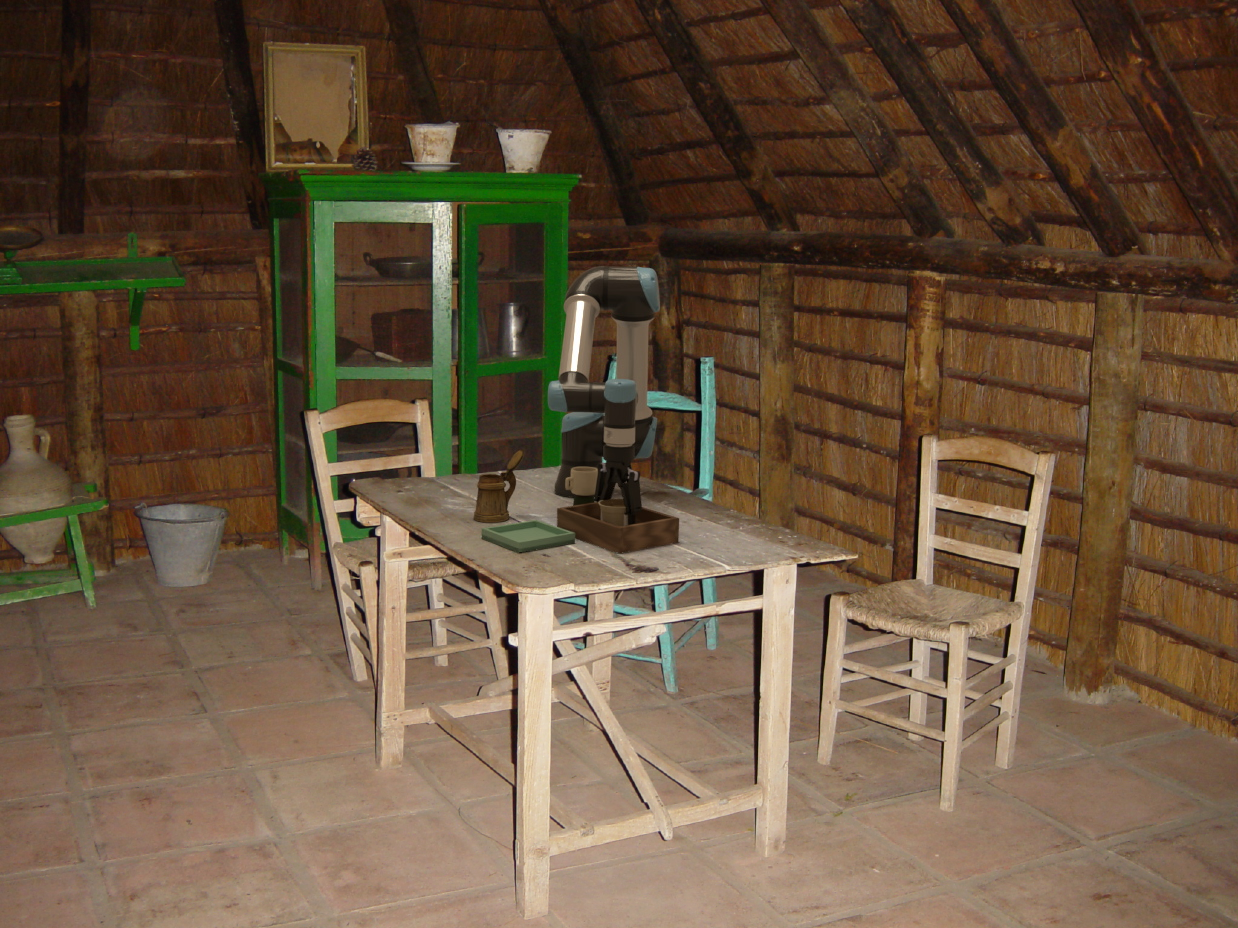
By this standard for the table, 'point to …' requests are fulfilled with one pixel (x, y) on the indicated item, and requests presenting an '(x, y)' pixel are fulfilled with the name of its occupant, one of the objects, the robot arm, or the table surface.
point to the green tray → (528, 536)
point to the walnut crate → (619, 528)
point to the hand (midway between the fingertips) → (616, 535)
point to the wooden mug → (496, 492)
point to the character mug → (582, 484)
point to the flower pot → (613, 511)
